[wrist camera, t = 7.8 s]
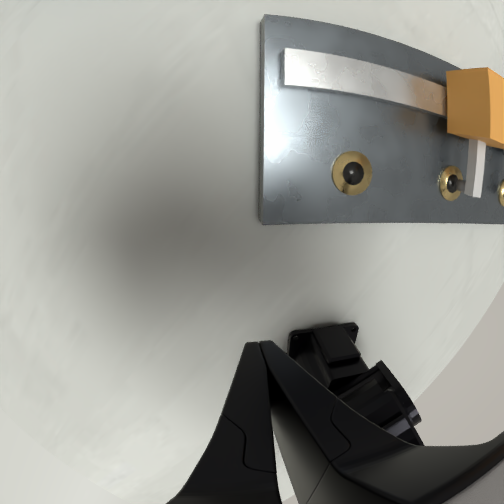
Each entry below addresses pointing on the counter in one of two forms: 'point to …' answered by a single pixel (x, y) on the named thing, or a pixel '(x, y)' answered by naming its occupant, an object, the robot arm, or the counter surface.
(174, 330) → the counter surface
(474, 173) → the divider leg
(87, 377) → the counter surface
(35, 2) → the counter surface
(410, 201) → the hole plate
